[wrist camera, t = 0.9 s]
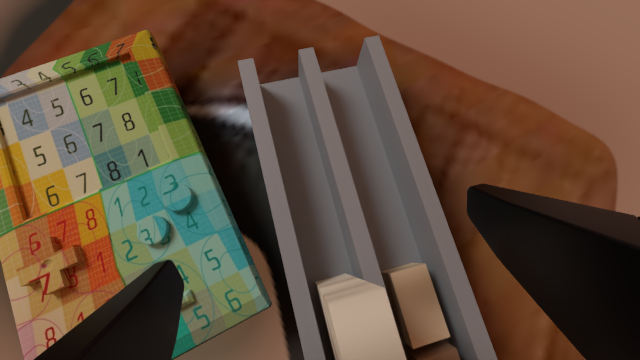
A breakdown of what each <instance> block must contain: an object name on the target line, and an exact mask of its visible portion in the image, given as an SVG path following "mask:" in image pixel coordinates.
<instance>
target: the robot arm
mask: <svg viewBox="0 0 640 360" xmlns="http://www.w3.org/2000/svg"><path fill="white" fill-rule="evenodd" d="M467 214H468V216H469V218H470V220H471V221H472V222H473V224H474V225H475V227H476V228H477V230H478V231H479V232H480V234H481V235H482V237H483V238H484V240H485V241H486V242H487V244H488V245H489V247H490V248H491V250H492V251H493V252H494V254H495V255H496V256H497V258H498V259H499V260H500V261H501V262H502V264H503V265H504V266H505V267H506V268H507V269H508V271H509V272H510V273H511V274H512V275H513V276H514V278H515V279H516V280H517V281H518V282H519V283H520V284H521V286H522V287H523V288H524V289H525V290H526V291H527V292H528V294H529V295H530V296H531V297H532V298H533V299H534V301H535V302H536V303H537V304H538V305H539V306H540V307H541V309H542V310H543V311H544V312H545V313H546V314H547V315H548V317H549V318H550V319H551V320H552V321H553V322H554V324H555V325H556V326H557V327H558V328H559V329H560V330H561V332H562V333H563V334H564V335H565V336H566V337H567V338H568V340H569V341H570V342H571V343H572V344H573V345H574V347H575V348H576V349H577V350H578V351H579V352H580V353H581V355H582V356H583V357H584V358H585V359H586V360H640V217H636V216H634V215H630V214H625V213H620V212H616V211H611V210H606V209H601V208H597V207H592V206H587V205H582V204H578V203H573V202H568V201H563V200H559V199H554V198H549V197H544V196H540V195H535V194H530V193H525V192H521V191H516V190H511V189H506V188H502V187H497V186H492V185H487V184H478V185H474V186H471V187H469V188H468V191H467ZM183 293H184V281H183V278H182V277H181V275H180V273H179V271H178V269H177V267H176V266H175V264H174V262H173V261H172V260H164V261H160V262H157V263H155V264H153V265H152V266H151V267H149V268H148V269H147V270H146V271H144V272H143V273H142V274H141V275H139V276H138V277H137V278H136V279H134V280H133V281H132V282H131V283H129V284H128V285H127V286H126V287H124V288H123V289H122V290H120V291H119V292H118V293H117V294H115V295H114V296H113V297H112V298H110V299H109V300H108V301H107V302H105V303H104V304H103V305H102V306H100V307H99V308H98V309H97V310H95V311H94V312H93V313H91V314H90V315H89V316H88V317H86V318H85V319H84V320H83V321H81V322H80V323H79V324H78V325H76V326H75V327H74V328H73V329H71V330H70V331H69V332H68V333H66V334H65V335H64V336H63V337H61V338H60V339H59V340H57V341H56V342H55V343H54V344H52V345H51V346H50V347H49V348H47V349H46V350H45V351H44V352H42V353H41V354H40V355H39V356H37V357H36V358H35V359H34V360H171V359H172V355H173V351H174V347H175V343H176V338H177V333H178V327H179V320H180V314H181V307H182V300H183Z"/></svg>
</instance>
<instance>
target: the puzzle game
mask: <svg viewBox="0 0 640 360" xmlns="http://www.w3.org/2000/svg"><path fill="white" fill-rule="evenodd" d="M0 259H1V264H2V268H3V272H4V276H5V280H6V285H7V289H8V293H9V297H10V301H11V305H12V310H13V314H14V318H15V322H16V326H17V331H18V335H19V339H20V343H21V347H22V351H23V356H24V360H34V359H35V358H36V357H37V356H39V355H40V354H41V353H42V352H44V351H45V350H46V349H47V348H49V347H50V346H51V345H52V344H54V343H55V342H56V341H57V340H59V339H60V338H61V337H63V336H64V335H65V334H66V333H68V332H69V331H70V330H71V329H73V328H74V327H75V326H76V325H78V324H79V323H80V322H81V321H83V320H84V319H85V318H86V317H88V316H89V315H90V314H91V313H93V312H94V311H95V310H97V309H98V308H99V307H100V306H102V305H103V304H104V303H105V302H107V301H108V300H109V299H110V298H112V297H113V296H114V295H115V294H117V293H118V292H119V291H120V290H122V289H123V288H124V287H126V286H127V285H128V284H129V283H131V282H132V281H133V280H134V279H136V278H137V277H138V276H139V275H141V274H142V273H143V272H144V271H146V270H147V269H148V268H149V267H151V266H152V265H153V264H155V263H157V262H160V261H164V260H172V261H173V262H174V264H175V266H176V267H177V269H178V271H179V273H180V275H181V277H182V278H183V281H184V293H183V300H182V307H181V314H180V320H179V327H178V333H177V338H176V343H175V347H174V351H173V355H172V359H171V360H173V359H175V358H177V357H179V356H180V355H183V354H184V353H186V352H188V351H190V350H192V349H193V348H195V347H197V346H199V345H201V344H203V343H205V342H206V341H208V340H210V339H212V338H214V337H215V336H217V335H219V334H221V333H223V332H225V331H227V330H228V329H230V328H232V327H234V326H236V325H238V324H239V323H241V322H243V321H245V320H247V319H248V318H251V317H252V316H254V315H256V314H258V313H260V312H262V311H263V310H265V309H267V308H269V307H270V306H271V304H272V303H271V300H270V298H269V296H268V294H267V291H266V289H265V287H264V285H263V282H262V280H261V278H260V276H259V273H258V271H257V269H256V266H255V264H254V262H253V260H252V257H251V255H250V253H249V250H248V248H247V246H246V244H245V241H244V239H243V237H242V235H241V232H240V230H239V228H238V225H237V223H236V221H235V219H234V216H233V214H232V212H231V210H230V207H229V205H228V203H227V201H226V198H225V196H224V194H223V191H222V189H221V187H220V185H219V182H218V180H217V178H216V176H215V173H214V171H213V169H212V166H211V164H210V162H209V160H208V157H207V155H206V153H205V151H204V148H203V146H202V144H201V142H200V139H199V137H198V135H197V132H196V130H195V128H194V126H193V123H192V121H191V119H190V117H189V114H188V112H187V110H186V107H185V105H184V103H183V101H182V98H181V96H180V94H179V92H178V89H177V87H176V85H175V83H174V80H173V78H172V76H171V73H170V71H169V69H168V67H167V64H166V62H165V60H164V58H163V55H162V53H161V51H160V48H159V46H158V44H157V42H156V40H155V39H154V37H153V36H152V34H151V33H150V31H149V30H144V31H141V32H138V33H135V34H132V35H129V36H127V37H124V38H121V39H118V40H115V41H112V42H109V43H106V44H103V45H100V46H97V47H94V48H91V49H88V50H85V51H82V52H79V53H76V54H73V55H70V56H67V57H64V58H61V59H58V60H55V61H52V62H49V63H46V64H43V65H40V66H37V67H34V68H31V69H28V70H25V71H22V72H19V73H16V74H14V75H11V76H8V77H5V78H2V79H0Z"/></svg>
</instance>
